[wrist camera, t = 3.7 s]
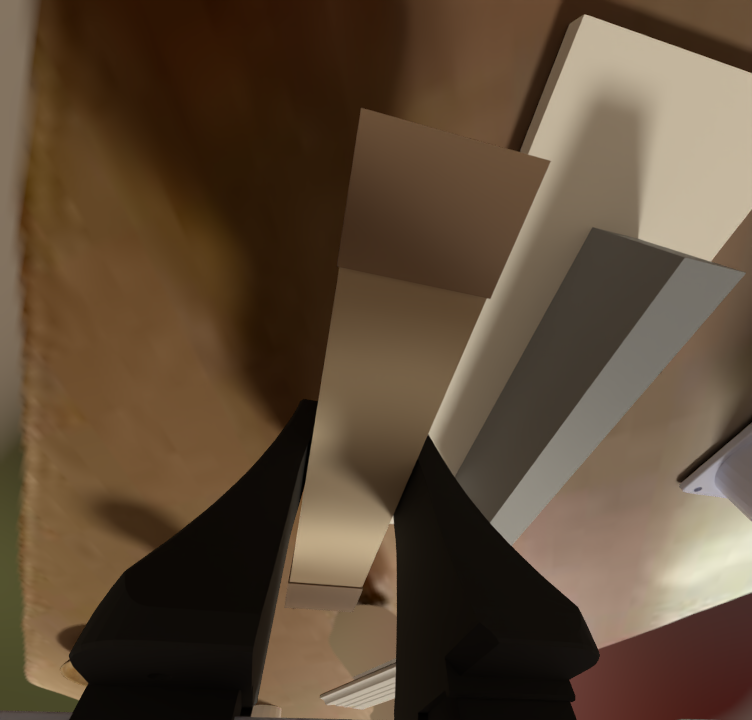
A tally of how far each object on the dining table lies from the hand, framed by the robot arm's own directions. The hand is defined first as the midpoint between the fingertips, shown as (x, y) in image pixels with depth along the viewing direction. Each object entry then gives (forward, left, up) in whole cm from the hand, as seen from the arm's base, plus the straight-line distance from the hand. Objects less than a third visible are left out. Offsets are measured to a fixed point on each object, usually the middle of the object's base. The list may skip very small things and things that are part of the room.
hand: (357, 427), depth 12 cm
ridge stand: (-8, 0, -5) cm, 10 cm away
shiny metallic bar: (0, 0, -2) cm, 2 cm away
